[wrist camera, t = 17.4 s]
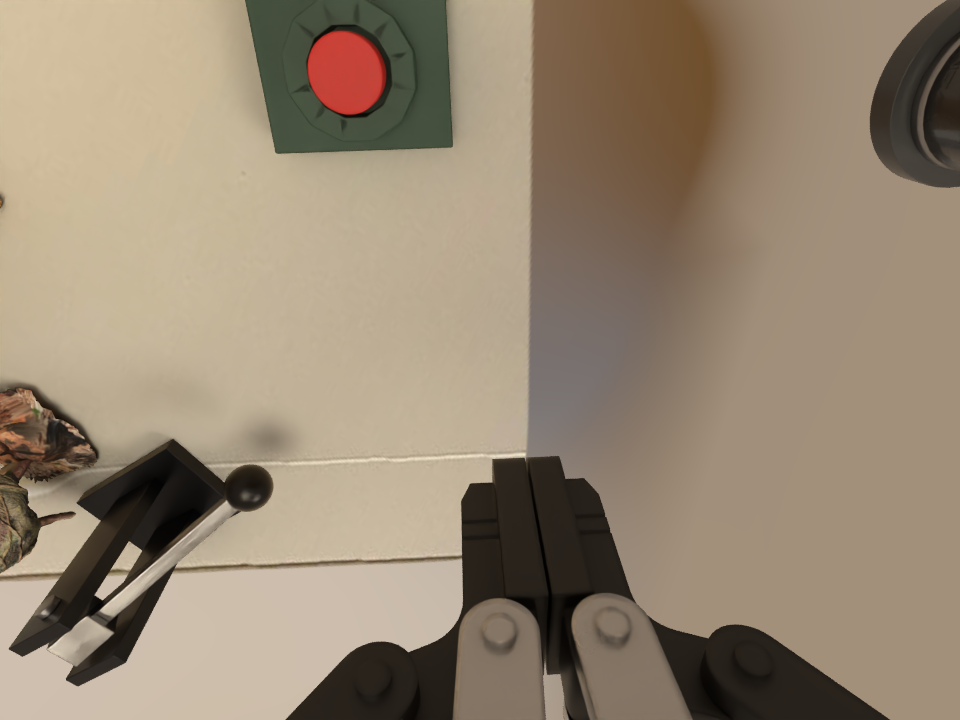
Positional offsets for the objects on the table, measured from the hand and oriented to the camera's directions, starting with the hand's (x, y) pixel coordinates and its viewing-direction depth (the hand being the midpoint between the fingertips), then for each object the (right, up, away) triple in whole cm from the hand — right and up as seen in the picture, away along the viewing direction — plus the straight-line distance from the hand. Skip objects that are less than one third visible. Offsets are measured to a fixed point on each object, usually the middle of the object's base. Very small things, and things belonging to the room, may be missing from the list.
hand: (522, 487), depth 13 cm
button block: (-8, +19, +19) cm, 28 cm away
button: (-7, +17, +15) cm, 25 cm away
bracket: (-27, -8, +33) cm, 44 cm away
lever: (-22, -10, +26) cm, 36 cm away
